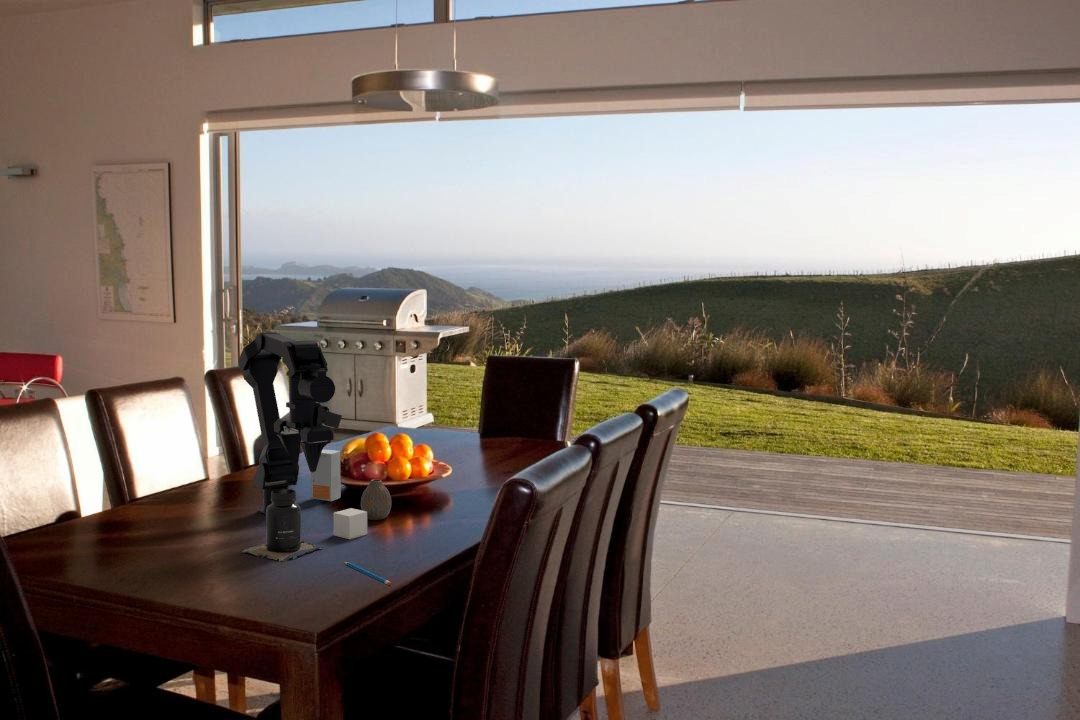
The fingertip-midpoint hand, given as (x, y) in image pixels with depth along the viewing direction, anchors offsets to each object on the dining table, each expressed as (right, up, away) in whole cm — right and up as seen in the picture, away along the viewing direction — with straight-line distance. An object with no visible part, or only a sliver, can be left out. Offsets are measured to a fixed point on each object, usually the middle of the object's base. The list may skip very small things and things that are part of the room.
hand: (304, 468), depth 206 cm
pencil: (+19, -17, -31) cm, 40 cm away
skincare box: (-1, -11, +27) cm, 29 cm away
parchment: (0, -15, -17) cm, 22 cm away
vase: (+14, -13, +9) cm, 21 cm away
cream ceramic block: (+11, -14, -5) cm, 18 cm away
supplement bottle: (0, -15, -16) cm, 22 cm away
